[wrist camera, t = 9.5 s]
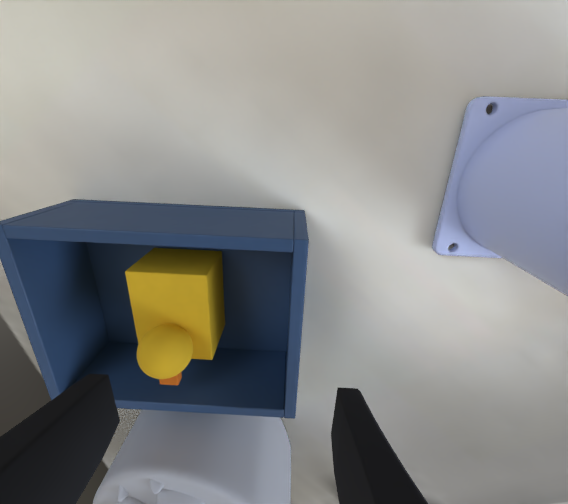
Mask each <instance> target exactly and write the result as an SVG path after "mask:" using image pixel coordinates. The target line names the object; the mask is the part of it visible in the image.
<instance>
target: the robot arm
mask: <svg viewBox="0 0 568 504" xmlns="http://www.w3.org/2000/svg"><path fill="white" fill-rule="evenodd" d="M489 104H491V105H492V111H491V113H490V114H487V112H486V108H487V106H488V105H489ZM452 243H454V247H453V248H452V249H448V247H449V245H450V244H452ZM432 248H433V250H434V251H435V252H436V253H437V254H439V255H450V256H471V257H491V258H504V259H506V260H507V261H509V262H511V263H512V264H514V265H516V266H517V267H519V268H521V269H523V270H524V271H526V272H528V273H529V274H531V275H533V276H534V277H536V278H538V279H539V280H541V281H543V282H544V283H546V284H548V285H550V286H551V287H553V288H555V289H556V290H558V291H560V292H561V293H563V294H565V295H566V296H568V100H562V99H537V98H513V97H488V96H483V97H477V98H474V99H473V100H471V101H470V103H469V104H468V106H467V108H466V112H465V116H464V120H463V124H462V128H461V132H460V136H459V140H458V144H457V148H456V152H455V156H454V160H453V164H452V168H451V172H450V176H449V180H448V184H447V188H446V192H445V196H444V200H443V204H442V208H441V212H440V216H439V220H438V224H437V228H436V232H435V236H434V240H433V244H432ZM119 421H120V420H119V416H118V412H117V407H116V403H115V399H114V395H113V391H112V387H111V383H110V379H109V375H106V374H88V375H86V376H85V377H84V378H82V379H81V380H79V381H78V382H76V383H75V384H73V385H72V386H71V387H69V388H68V389H66V390H65V391H64V392H62V393H61V394H60V395H58V396H57V397H55V398H54V399H53V400H51V401H50V402H49V403H47V404H46V405H44V406H43V407H42V408H40V409H39V410H37V411H36V412H35V413H33V414H32V415H30V416H29V417H28V418H26V419H25V420H23V421H22V422H21V423H19V424H18V425H16V426H15V427H14V428H12V429H11V430H9V431H8V432H7V433H5V434H4V435H2V436H1V437H0V504H76V502H77V501H78V499H79V497H80V496H81V494H82V492H83V491H84V489H85V487H86V485H87V484H88V482H89V480H90V479H91V477H92V475H93V474H94V472H95V470H96V468H97V467H98V465H99V463H100V462H101V460H102V458H103V456H104V454H105V452H106V450H107V448H108V446H109V444H110V442H111V439H112V437H113V435H114V433H115V430H116V428H117V426H118V424H119ZM331 438H332V451H333V464H334V474H335V480H336V486H337V492H338V498H339V504H428V503H427V501H426V500H425V498H424V497H423V495H422V494H421V492H420V491H419V489H418V488H417V486H416V485H415V483H414V482H413V480H412V479H411V477H410V476H409V474H408V473H407V471H406V470H405V468H404V467H403V465H402V463H401V462H400V460H399V459H398V457H397V455H396V454H395V452H394V451H393V449H392V447H391V446H390V444H389V442H388V441H387V439H386V437H385V436H384V434H383V432H382V431H381V429H380V427H379V425H378V424H377V422H376V420H375V418H374V416H373V415H372V413H371V411H370V409H369V407H368V405H367V403H366V402H365V400H364V398H363V396H362V394H361V392H360V391H359V390H358V389H353V388H338V390H337V397H336V404H335V411H334V417H333V424H332V431H331Z"/></svg>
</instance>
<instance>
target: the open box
mask: <svg viewBox="0 0 568 504" xmlns="http://www.w3.org/2000/svg"><path fill="white" fill-rule="evenodd" d="M308 244H309V239H308V232H307V225H306V217H305V211H304V210H288V209H267V208H246V207H225V206H203V205H182V204H161V203H139V202H118V201H97V200H76V199H73V200H70V201H67V202H63V203H60V204H56V205H53V206H50V207H46V208H43V209H39V210H36V211H33V212H29V213H26V214H22V215H19V216H16V217H12V218H9V219H6V220H2V221H0V259H1V262H2V265H3V268H4V270H5V273H6V276H7V279H8V281H9V284H10V287H11V290H12V293H13V295H14V298H15V301H16V304H17V306H18V309H19V312H20V315H21V318H22V320H23V323H24V326H25V329H26V331H27V334H28V337H29V340H30V343H31V345H32V348H33V351H34V354H35V356H36V359H37V362H38V365H39V367H40V370H41V373H42V376H43V379H44V381H45V384H46V387H47V390H48V392H49V395H50V398H51V400H53V399H54V398H55V397H57V396H58V395H60V394H61V393H62V392H64V391H65V390H66V389H68V388H69V387H71V386H72V385H73V384H75V383H76V382H78V381H79V380H81V379H82V378H84V377H85V376H86V375H88V374H106V375H109V379H110V383H111V387H112V391H113V395H114V399H115V403H116V407H117V408H124V409H142V410H159V411H176V412H193V413H211V414H228V415H245V416H262V417H280V418H283V417H284V418H295V413H296V400H297V387H298V374H299V361H300V348H301V335H302V322H303V309H304V296H305V283H306V270H307V257H308ZM153 248H170V249H190V250H210V251H222V265H223V288H224V310H225V326H224V329H223V332H222V335H221V337H220V340H219V343H218V346H217V348H216V351H215V354H214V357H213V359H212V360H206V359H191V360H190V362H189V364H188V365H187V367H186V368H185V369H184V370H183V371H182V372H181V373H182V378H181V380H180V383H179V385H162V384H160V382H159V379H156V378H152V377H150V376H148V375H146V374H145V373H144V372H143V371H142V370H141V368H140V367H139V364H138V361H137V348H138V339H137V334H136V328H135V323H134V318H133V312H132V307H131V302H130V296H129V291H128V286H127V280H126V275H125V271H126V270H127V269H129V268H130V267H131V266H132V265H133V264H135V263H136V262H137V261H138V260H140V259H141V258H142V257H143V256H145V255H146V254H147V253H148V252H150V251H151V250H152V249H153Z"/></svg>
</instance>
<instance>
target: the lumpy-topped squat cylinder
mask: <svg viewBox="0 0 568 504" xmlns="http://www.w3.org/2000/svg"><path fill="white" fill-rule="evenodd" d="M290 497H291V446H290V442H289V439H288V436H287V433H286V430H285V427H284V424H283V422H282V420H281V418H280V417H262V416H245V415H228V414H211V413H193V412H176V411H159V410H141V412H140V414H139V416H138V418H137V419H136V421H135V423H134V425H133V427H132V428H131V430H130V432H129V434H128V436H127V438H126V439H125V441H124V443H123V445H122V447H121V448H120V450H119V452H118V454H117V456H116V457H115V459H114V461H113V463H112V465H111V466H110V468H109V470H108V472H107V474H106V476H105V478H104V479H103V481H102V483H101V485H100V487H99V489H98V490H97V492H96V495H95V498H94V501H93V504H290Z"/></svg>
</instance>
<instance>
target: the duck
mask: <svg viewBox="0 0 568 504" xmlns="http://www.w3.org/2000/svg"><path fill="white" fill-rule="evenodd" d="M125 275H126V280H127V286H128V291H129V296H130V302H131V307H132V312H133V318H134V323H135V328H136V334H137V339H138V348H137V361H138V364H139V367H140V368H141V370H142V371H143V372H144V373H145V374H146V375H148V376H150V377H152V378H156V379H159V382H160V384H162V385H179V383H180V380H181V378H182V373H181V372H182V371H183V370H184V369H185V368H186V367H187V365H188V364H189V362H190V360H191V359H206V360H212V359H213V357H214V354H215V351H216V348H217V346H218V343H219V340H220V337H221V335H222V332H223V329H224V326H225V310H224V288H223V265H222V251H210V250H190V249H170V248H153V249H152V250H151V251H150V252H148V253H147V254H146V255H145V256H143V257H142V258H141V259H140V260H138V261H137V262H136V263H135V264H133V265H132V266H131V267H130V268H129V269H127V270H126V271H125Z"/></svg>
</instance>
